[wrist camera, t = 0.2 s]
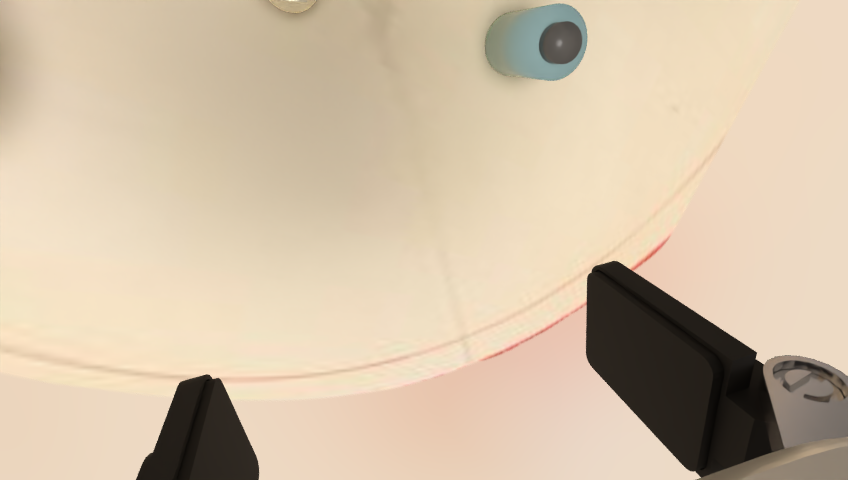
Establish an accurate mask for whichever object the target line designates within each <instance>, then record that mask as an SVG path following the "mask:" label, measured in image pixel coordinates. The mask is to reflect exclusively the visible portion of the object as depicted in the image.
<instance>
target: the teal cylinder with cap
mask: <svg viewBox="0 0 848 480" xmlns="http://www.w3.org/2000/svg"><path fill="white" fill-rule="evenodd" d="M586 46H587V29H586V25H585V22H584V20H583V18H582V16H581V15H580V13H579V12H578V11H577V10H576V9H575V8H573V7H571V6H569V5H566V4H552V5H547V6H542V7H536V8H531V9H525V10H520V11H515V12H509V13H506V14H504V15H502V16H500V17H499V18H497V19H496V20H495V21H494V23H493V24H492V25H491V27H490V29H489V31H488V33H487V36H486V41H485V52H486V57H487V60H488V62H489V64H490V65H491V67H492V68H493V69H494V70H495V71H497V72H498V73H500V74H502V75H507V76H515V77H523V78H532V79H540V80H548V81H554V80H559V79H562V78H564V77H566V76H568V75H569V74H570V73H572V72H573V71H574V70H575V69H576V67H577V66H578V65H579V63H580V62H581V60H582V58H583V56H584V53H585V50H586Z"/></svg>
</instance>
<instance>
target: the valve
mask: <svg viewBox="0 0 848 480" xmlns="http://www.w3.org/2000/svg"><path fill="white" fill-rule="evenodd" d="M269 1H270V2H271V3H272V4H273V5H274V6H276V7H277V8H279V9H281V10H283V11H286V12H290V13H299V12H303V11H305V10H307V9H309V8H310V7H311V6H313V4H314V3H315V2H316V0H269Z"/></svg>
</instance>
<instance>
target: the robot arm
mask: <svg viewBox="0 0 848 480" xmlns="http://www.w3.org/2000/svg"><path fill="white" fill-rule="evenodd" d="M756 354H757V352H755V351H754V350H752V349H751V348H749V347H748V346H746V345H745V344H743V343H742V342H740V341H738V340H737V339H736V338H734V337H732V336H731V335H729V334H728V333H726V332H724V331H723V330H722V329H720V328H719V327H717V326H716V325H714V324H713V323H711V322H709V321H708V320H706V319H705V318H703V317H702V316H700V315H699V314H697V313H696V312H694V311H693V310H691V309H690V308H688V307H687V306H685V305H684V304H682V303H681V302H679V301H678V300H676V299H674V298H673V297H671V296H670V295H668V294H667V293H665V292H664V291H662V290H661V289H659V288H658V287H656V286H655V285H653V284H652V283H650V282H649V281H647V280H645V279H644V278H642V277H641V276H639V275H638V274H636V273H635V272H633V271H632V270H630V269H629V268H627V267H626V266H624V265H623V264H621V263H620V262H617V261H612V262H608V263H605V264H601V265H598V266H595V267H594V268H593V269H592V273H590V274H589V275H588V277H587V328H586V355H587V359H588V362H589V363H590V365H591V366H592V368H593V369H594V370H595V371H596V372H597V373H598V374H599V375H600V376H601V377H602V379H603V380H605V382H607V384H608V385H609V386H610V387H611V388H612V389H613V390H614V391H615V393H616V394H617V395H618V396H619V397H620V398H621V399H622V400H623V401H624V402H625V403H626V404H627V405H628V407H630V409H631V410H632V411H633V412H634V413H635V414H636V415H637V416H638V417H639V418H640V419H641V421H642V422H643V423H644V424H645V425H646V426H647V427H648V428H649V429H650V430H651V431H652V432H653V433H654V435H655V436H656V437H657V438H658V439H659V440H660V441H661V442H662V443H663V444H664V445H665V446H666V447H667V449H668V450H669V451H670V452H671V453H672V454H673V455H674V456H675V457H676V458H677V459H678V460H679V462H680V463H681V464H682V465H683V466H684V467H685V468H686V469H688V470H690V471H696V473H697V474H698V475H699V476H700V477H701V478H699V479H697V480H848V376H846V375H845V374H844V373H843V372H841V371H839V370H838V369H835V368H834V367H832V366H830V365H828V364H825V363H823V362H820V361H817V360H815V359H811V358H806V357H801V356H791V355H785V356H777V357H774V358H771V359H769V360H767V362H766V363H765V364H762V363H761V362H759V361H757V360H756ZM258 479H259V465H258V460H257V457H256V455H255V453H254V451H253V448H252V446H251V444H250V442H249V440H248V437H247V435H246V433H245V431H244V429H243V427H242V425H241V422H240V420H239V418H238V416H237V414H236V411H235V409H234V407H233V405H232V403H231V400H230V398H229V396H228V394H227V392H226V389H225V387H224V385H223V383H222V381H221V380H220V379H219V378H216V379H212V377H211V376H210V375H207V374H206V375H203V376H199V377H196V378H192V379H189V380H185V381H182V382H180V383H179V385H178V387H177V390H176V392H175V395H174V398H173V401H172V403H171V406H170V408H169V411H168V414H167V417H166V419H165V422H164V425H163V427H162V430H161V433H160V435H159V438H158V441H157V443H156V446H155V449H154V452H153V453H150V454H149V455H148V456H147V457H146V458H145V460H144V462H143V464H142V466H141V468H140V471H139V473H138V476H137V479H136V480H258Z"/></svg>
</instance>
